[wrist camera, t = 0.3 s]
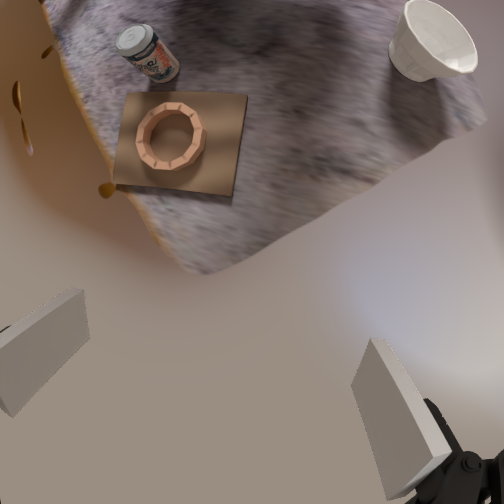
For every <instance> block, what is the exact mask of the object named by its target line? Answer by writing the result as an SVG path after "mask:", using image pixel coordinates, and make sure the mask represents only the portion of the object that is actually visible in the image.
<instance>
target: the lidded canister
mask: <svg viewBox="0 0 504 504" xmlns="http://www.w3.org/2000/svg"><path fill="white" fill-rule="evenodd" d="M116 48H117V52H118V53H119V54H120V55H121V56H123V57H124V58H125V59H126V60H128V61H129V62H130V63H132V64H133V65H134V66H135V67H137V68H138V69H139V70H140V71H142V72H143V73H144V74H145V75H146V76H148V77H149V78H150V79H151V80H153V81H154V82H156V83H165V82H168V81H170V80H171V79H173V78H174V77H175V76H176V74H177V73H178V71H179V66H180V65H179V62H178V60H177V59H176V58H175V57H174V56H173V55H172V54H171V52H170V51H169V50H168V49H167V47H166V46H165V45H164V44H163V43H162V41H161V40H160V39H159V38H158V37H157V35H156V34H155V33H154V32H153V30H152V28H151V27H150V26H149V25H146V24H133V25H131V26H129V27H127V28H125V29H124V30H123V31H122V32H121V33H120V34H119V35H118V37H117V41H116Z"/></svg>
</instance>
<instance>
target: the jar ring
mask: <svg viewBox="0 0 504 504" xmlns="http://www.w3.org/2000/svg"><path fill="white" fill-rule="evenodd" d="M170 114H185V115H186V116H188V117H189V118H190V120H191V122H192V125H193V127H194V134H193V140H192V144H191V146H190V147H189V148H188V150H187V151H186V152H185V154H184V155H183V156H181V157H179V158H177V159H175V160H173V161H171V162H162V161H161V160H160V159H158V158H157V157H156V156H154V154H153V151H152V148H151V146H150V139H151V133H152V130H153V129H154V127H155V126H156V125H157V123H158V122H159V120H161V119H163V118H165V117H167V116H168V115H170ZM206 133H207V131H206V128H205V126H204V123H203V121H202V118H201V116H200V115H199V114H198V113H197V112H196V111H194V110H193V109H191V108H190V107H188V106H186V105H185V104H183V103H173V102H165V103H163V104H161V105H159V106H157V107H155V108H154V109H152V110H150V111H149V112H148V113H147V114H146V116H145V117H144V119H143V120H142V121H141V123H140V124H139V126H138V130H137V136H136V142H135V144H136V146H137V149H138V152H139V155H140V158H141V159H142V160H143V161H144V162H146V163H147V164H148V165H149V166H151V167H152V168H153V169H160V170H172V171H178V170H180V169H182V168H184V167H186V166H188V165H191V164H193V163H194V161H195V160H196V159H197V157H198V156H199V155H200V153H201V152H202V151H203V150H204V146H205V139H206Z"/></svg>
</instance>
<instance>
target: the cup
mask: <svg viewBox="0 0 504 504" xmlns="http://www.w3.org/2000/svg"><path fill="white" fill-rule="evenodd" d="M396 28H397V30H396V33H395V35H394V37H393V39H392V41H391V42H390V44H389V48H388V52H389V57H390V59H391V61H392V63H393V64H394V66H395V67H396V68H397V69H398V71H399V72H400V73H401V74H402V75H404V76H405V77H407V78H409V79H411V80H413V81H417V82H424V81H427V80H429V79H431V78H436V77H443V78H449V77H454V76H459V75H463V74H468V73H472V72H473V71H474V69H475V68H476V67H477V51H476V48H475V46H474V42H473V40H472V38H471V37H470V36H469V34H468V32H467V31H466V29H465V28H464V26H463V25H462V24H461V23H460V22H459V21H458V20H457V19H456V18H455V17H454V16H453V15H452V14H451V13H449V12H448V11H447V10H445V9H444V8H442V7H441V6H439V5H438V4H435V3H433V2H430V1H428V0H410V1H409V2H407V3H406V4H405V5H404V8H403V10H402V12H401V14H400V16H399V18H398V22H397V27H396Z"/></svg>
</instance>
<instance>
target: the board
mask: <svg viewBox="0 0 504 504" xmlns="http://www.w3.org/2000/svg"><path fill="white" fill-rule="evenodd" d="M247 100H248V96H247V95H243V94H232V93H219V92H197V91H157V92H136V93H127V97H126V102H125V106H124V111H123V116H122V121H121V126H120V132H119V137H118V144H117V150H116V157H115V164H114V173H113V182H112V183H113V184H126V185H137V186H148V187H158V188H168V189H177V190H186V191H195V192H203V193H210V194H218V195H225V196H232V195H233V188H234V181H235V174H236V168H237V161H238V155H239V148H240V142H241V136H242V130H243V124H244V118H245V112H246V106H247ZM165 102H173V103H183V104H185V105H186V106H188V107H190V108H191V109H193V110H194V111H196V112H197V113H198V114H199V115H200V116H201V118H202V121H203V123H204V126H205V128H206V131H207V133H206V139H205V146H204V150H203V151H202V152H201V153H200V155H199V156H198V157H197V159H196V160H195V161H194V163H193V164H191V165H188V166H186V167H184V168H182V169H180V170H178V171H172V170H160V169H153V168H152V167H151V166H149V165H148V164H147V163H146V162H144V161H143V160H142V159H141V158H140V155H139V152H138V149H137V146H136V144H135V142H136V136H137V130H138V126H139V124H140V123H141V121H142V120H143V119H144V117H145V116H146V114H147V113H148V112H149V111H150V110H152V109H154V108H155V107H157V106H159V105H161V104H163V103H165ZM193 134H194V127H193V125H192V122H191V120H190V118H189V117H188V116H186V115H185V114H170V115H168V116H167V117H165V118H163V119H161V120H159V122H158V123H157V125H156V126H155V127H154V129H153V130H152V133H151V139H150V146H151V148H152V151H153V154H154V156H156V157H157V158H158V159H160V160H161V161H162V162H171V161H173V160H175V159H177V158H179V157H181V156H183V155H184V154H185V152H186V151H187V150H188V148H189V147H190V146H191V144H192V140H193Z"/></svg>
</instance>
